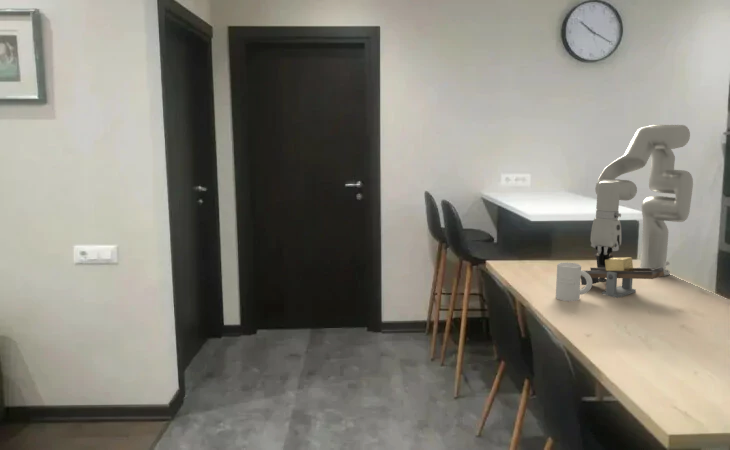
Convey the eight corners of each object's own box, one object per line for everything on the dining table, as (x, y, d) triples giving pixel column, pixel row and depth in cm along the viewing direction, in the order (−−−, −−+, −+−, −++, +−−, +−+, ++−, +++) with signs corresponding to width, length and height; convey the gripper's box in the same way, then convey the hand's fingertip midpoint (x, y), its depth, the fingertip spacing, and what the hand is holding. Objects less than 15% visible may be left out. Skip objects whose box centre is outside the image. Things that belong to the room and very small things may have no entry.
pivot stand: (620, 288, 231) (621, 266, 229) (635, 291, 226) (637, 269, 225) (601, 294, 223) (603, 271, 222) (617, 297, 218) (618, 274, 217)
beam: (592, 281, 237) (591, 266, 237) (664, 284, 215) (663, 266, 215) (580, 285, 232) (578, 269, 232) (653, 287, 210) (651, 270, 210)
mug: (592, 303, 212) (593, 269, 210) (555, 300, 216) (557, 266, 214) (590, 296, 220) (592, 263, 218) (555, 294, 223) (557, 261, 222)
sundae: (608, 283, 238) (610, 245, 236) (590, 280, 242) (593, 243, 240) (613, 279, 243) (615, 242, 241) (596, 277, 247) (598, 240, 245)
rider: (615, 271, 228) (613, 257, 228) (633, 271, 222) (631, 257, 222) (606, 273, 224) (604, 259, 224) (624, 273, 218) (622, 259, 218)
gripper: (631, 216, 221) (628, 267, 224) (594, 212, 233) (591, 259, 236) (620, 218, 217) (616, 269, 220) (582, 213, 229) (579, 262, 231)
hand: (603, 264), depth 228 cm, fingers closed
